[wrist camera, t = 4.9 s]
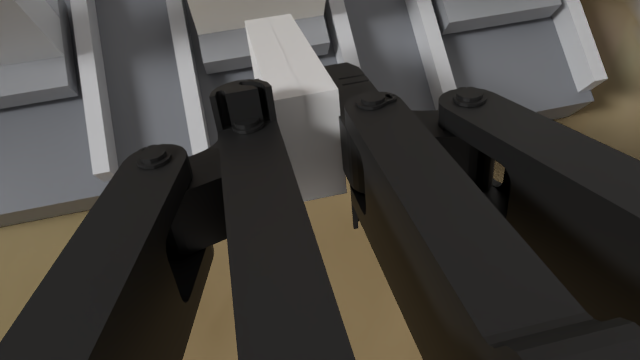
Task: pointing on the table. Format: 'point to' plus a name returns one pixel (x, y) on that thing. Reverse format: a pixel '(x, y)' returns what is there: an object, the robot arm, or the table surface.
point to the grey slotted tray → (196, 85)
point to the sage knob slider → (489, 13)
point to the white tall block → (230, 33)
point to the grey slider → (35, 52)
